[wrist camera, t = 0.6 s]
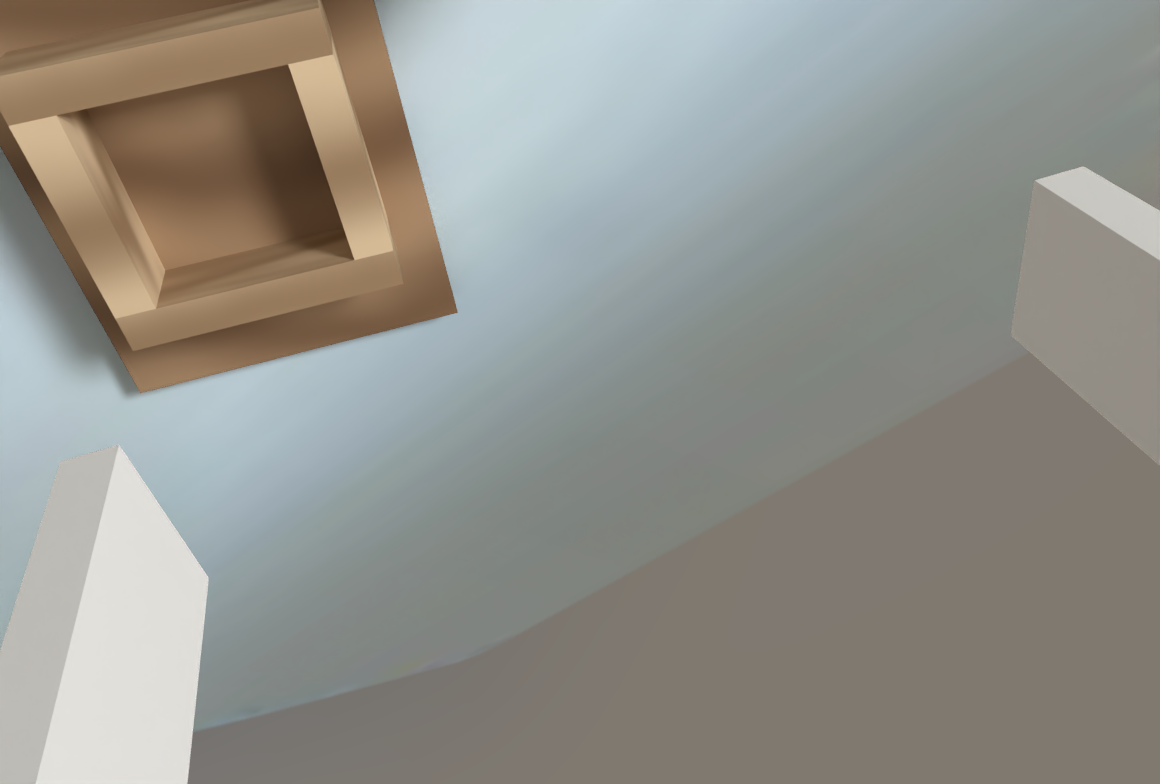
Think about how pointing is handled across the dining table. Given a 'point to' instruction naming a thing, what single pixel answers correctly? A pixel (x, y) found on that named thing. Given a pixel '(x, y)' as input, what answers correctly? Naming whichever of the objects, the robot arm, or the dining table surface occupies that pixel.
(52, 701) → the robot arm
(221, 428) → the dining table surface
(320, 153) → the wooden socket base
